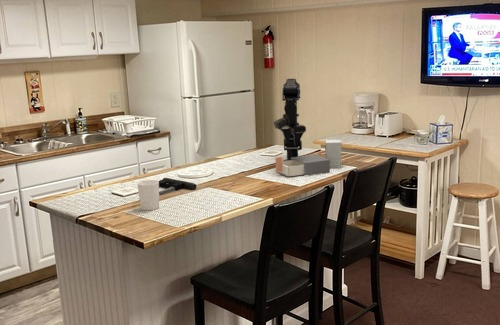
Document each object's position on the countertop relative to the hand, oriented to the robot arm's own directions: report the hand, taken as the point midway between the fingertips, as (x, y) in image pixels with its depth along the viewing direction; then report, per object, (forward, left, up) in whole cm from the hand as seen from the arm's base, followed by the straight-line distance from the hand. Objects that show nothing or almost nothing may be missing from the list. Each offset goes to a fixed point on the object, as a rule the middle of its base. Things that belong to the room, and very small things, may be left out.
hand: (291, 144), depth 248 cm
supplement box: (+5, +20, -12) cm, 24 cm away
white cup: (+29, -75, -12) cm, 81 cm away
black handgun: (+6, -62, -13) cm, 64 cm away
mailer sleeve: (+8, +6, -12) cm, 15 cm away
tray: (+8, -4, -11) cm, 15 cm away
